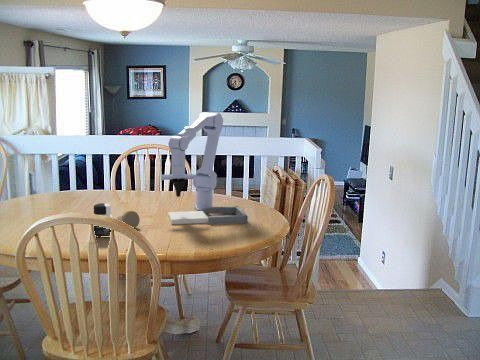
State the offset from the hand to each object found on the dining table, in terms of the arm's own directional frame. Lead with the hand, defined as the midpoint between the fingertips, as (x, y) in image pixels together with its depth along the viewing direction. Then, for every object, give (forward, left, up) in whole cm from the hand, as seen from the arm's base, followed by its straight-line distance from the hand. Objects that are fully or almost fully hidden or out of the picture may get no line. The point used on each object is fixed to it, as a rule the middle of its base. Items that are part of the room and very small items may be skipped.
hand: (178, 196), depth 218 cm
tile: (+4, +17, -10) cm, 20 cm away
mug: (+11, -22, -10) cm, 27 cm away
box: (+4, +19, -9) cm, 22 cm away
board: (+4, +4, -9) cm, 11 cm away
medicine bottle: (+21, -31, -10) cm, 39 cm away
